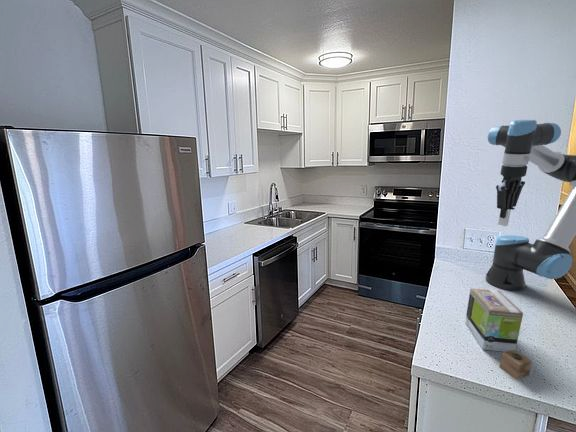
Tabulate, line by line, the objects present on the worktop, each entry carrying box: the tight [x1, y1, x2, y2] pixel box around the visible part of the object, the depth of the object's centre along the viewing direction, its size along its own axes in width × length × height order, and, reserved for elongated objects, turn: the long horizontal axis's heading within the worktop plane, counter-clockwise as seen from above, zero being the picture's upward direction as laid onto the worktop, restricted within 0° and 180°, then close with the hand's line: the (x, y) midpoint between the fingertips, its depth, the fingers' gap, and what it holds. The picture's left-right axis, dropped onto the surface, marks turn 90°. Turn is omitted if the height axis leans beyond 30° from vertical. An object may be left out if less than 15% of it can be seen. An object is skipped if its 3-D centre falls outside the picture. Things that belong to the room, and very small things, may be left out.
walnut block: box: [499, 349, 533, 380], centre depth 87 cm, size 5×5×5 cm
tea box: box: [464, 288, 524, 353], centre depth 100 cm, size 15×10×15 cm
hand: (502, 224), depth 115 cm, fingers closed
